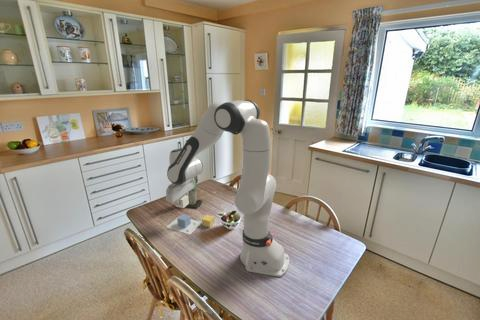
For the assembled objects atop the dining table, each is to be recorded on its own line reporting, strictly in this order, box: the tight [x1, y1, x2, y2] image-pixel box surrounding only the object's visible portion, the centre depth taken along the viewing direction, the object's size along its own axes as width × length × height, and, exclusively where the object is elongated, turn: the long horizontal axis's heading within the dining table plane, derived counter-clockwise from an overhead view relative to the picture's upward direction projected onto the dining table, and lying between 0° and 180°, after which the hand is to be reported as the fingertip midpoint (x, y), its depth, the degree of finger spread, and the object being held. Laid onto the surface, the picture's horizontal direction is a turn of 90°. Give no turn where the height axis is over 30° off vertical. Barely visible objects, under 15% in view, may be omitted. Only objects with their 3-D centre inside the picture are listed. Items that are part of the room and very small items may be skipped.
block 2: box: [176, 213, 191, 228], centre depth 133 cm, size 5×5×5 cm
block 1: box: [174, 195, 189, 209], centre depth 129 cm, size 5×5×5 cm
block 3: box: [201, 214, 216, 228], centre depth 134 cm, size 5×5×5 cm
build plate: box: [166, 215, 202, 235], centre depth 134 cm, size 16×12×1 cm
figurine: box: [183, 176, 203, 210], centre depth 151 cm, size 10×10×30 cm
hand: (182, 202), depth 129 cm, fingers closed on block 1, 5 cm apart
